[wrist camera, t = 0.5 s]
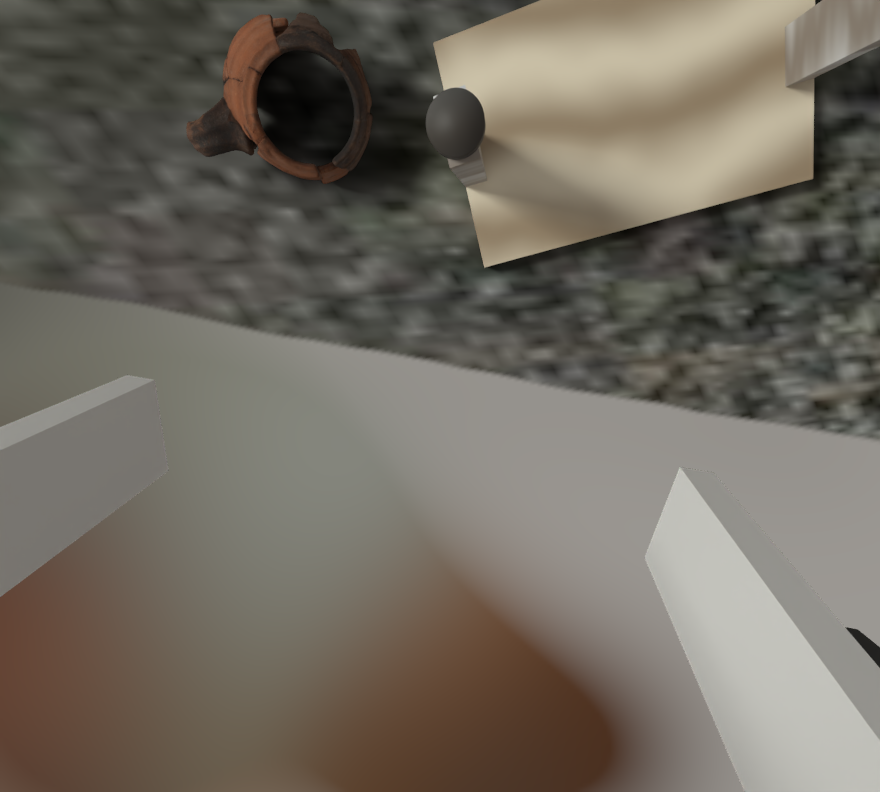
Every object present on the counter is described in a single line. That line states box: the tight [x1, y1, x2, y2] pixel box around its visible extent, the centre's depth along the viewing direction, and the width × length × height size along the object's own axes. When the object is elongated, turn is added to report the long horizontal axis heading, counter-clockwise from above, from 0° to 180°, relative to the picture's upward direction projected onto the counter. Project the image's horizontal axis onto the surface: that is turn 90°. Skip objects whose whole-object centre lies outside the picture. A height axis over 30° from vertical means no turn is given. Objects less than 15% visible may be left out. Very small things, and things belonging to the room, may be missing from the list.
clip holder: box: [426, 0, 880, 267], centre depth 22 cm, size 14×22×12 cm, turn 105°
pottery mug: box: [186, 13, 373, 184], centre depth 29 cm, size 12×9×8 cm
